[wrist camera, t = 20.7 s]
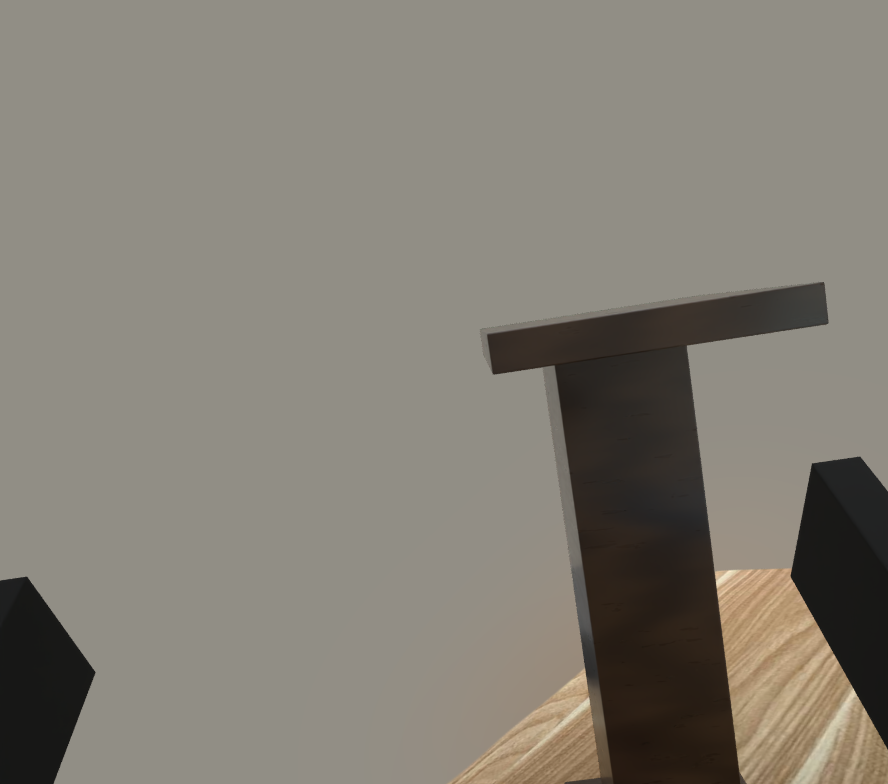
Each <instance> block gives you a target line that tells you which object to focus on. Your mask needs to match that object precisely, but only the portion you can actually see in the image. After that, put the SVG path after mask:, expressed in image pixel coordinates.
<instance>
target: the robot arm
mask: <svg viewBox="0 0 888 784" xmlns="http://www.w3.org/2000/svg"><path fill="white" fill-rule="evenodd" d="M791 578H792V580H793V582H794V583H795V585H796V587H797V589H798V591H799V592H800V594H801V596H802V598H803V599H804V601H805V603H806V605H807V607H808V608H809V610H810V612H811V614H812V615H813V617H814V619H815V621H816V623H817V624H818V626H819V628H820V630H821V631H822V633H823V635H824V637H825V639H826V640H827V642H828V644H829V646H830V648H831V649H832V651H833V653H834V655H835V656H836V658H837V660H838V662H839V664H840V665H841V667H842V669H843V671H844V672H845V674H846V676H847V678H848V680H849V681H850V683H851V685H852V687H853V688H854V690H855V692H856V694H857V696H858V697H859V699H860V701H861V703H862V705H863V706H864V708H865V710H866V712H867V713H868V715H869V717H870V719H871V721H872V722H873V724H874V726H875V728H876V729H877V731H878V733H879V735H880V737H881V738H882V740H883V742H884V744H885V745H886V747H887V749H888V491H887V490H886V489H885V487H884V486H883V485H882V484H881V482H880V481H879V480H878V478H877V477H876V476H875V475H874V473H873V472H872V471H871V470H870V468H869V467H868V466H867V465H866V463H865V462H864V461H863V460H862V459H861V457H854V458H847V459H840V460H833V461H827V462H819V463H812V466H811V472H810V477H809V483H808V487H807V493H806V499H805V503H804V508H803V514H802V520H801V524H800V530H799V535H798V540H797V546H796V551H795V556H794V561H793V567H792V572H791ZM94 675H95V671H94V669H93V668H92V667H91V665H90V664H89V663H88V661H87V660H86V658H85V657H84V656H83V654H82V653H81V651H80V650H79V649H78V647H77V646H76V644H75V643H74V642H73V640H72V639H71V637H69V635H68V633H67V632H66V630H65V629H64V628H63V626H62V625H61V623H60V622H59V621H58V619H57V618H56V616H55V615H54V614H53V612H52V611H51V609H50V608H49V607H48V605H47V604H46V603H45V601H44V600H43V599H42V597H41V595H40V594H39V593H38V591H37V590H36V589H35V587H34V586H33V584H32V583H31V582H30V580H29V579H28V577H21V578H15V579H8V580H1V581H0V784H54V781H55V778H56V776H57V773H58V770H59V768H60V765H61V762H62V760H63V757H64V754H65V752H66V749H67V746H68V744H69V741H70V738H71V736H72V733H73V731H74V728H75V725H76V723H77V720H78V717H79V715H80V712H81V709H82V707H83V704H84V702H85V699H86V696H87V694H88V691H89V688H90V686H91V683H92V680H93V677H94Z"/></svg>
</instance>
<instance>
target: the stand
mask: <svg viewBox="0 0 888 784" xmlns="http://www.w3.org/2000/svg"><path fill="white" fill-rule="evenodd" d="M825 324H828V313H827V304H826V294H825V285H824V282H818V283H809V284H799V285H791V286H781V287H772V288H763V289H754V290H744V291H735V292H726V293H717V294H708V295H698V296H692V297H686V298H679V299H672V300H666V301H660V302H653V303H647V304H640V305H634V306H627V307H621V308H615V309H608V310H601V311H595V312H588V313H582V314H575V315H569V316H562V317H556V318H550V319H543V320H536V321H530V322H523V323H517V324H510V325H504V326H498V327H491V328H484V329H480V333H481V341H482V347H483V354H484V357H485V359H486V361H487V363H488V365H489V367H490V369H491V371H492V373H493V374H501V373H507V372H514V371H521V370H528V369H534V368H541V367H543V373H544V381H545V387H546V395H547V402H548V409H549V416H550V423H551V430H552V438H553V445H554V452H555V458H556V466H557V472H558V479H559V487H560V494H561V501H562V508H563V514H564V522H565V529H566V536H567V542H568V550H569V557H570V564H571V571H572V578H573V585H574V592H575V600H576V606H577V613H578V620H579V627H580V635H581V642H582V649H583V656H584V663H585V670H586V677H587V684H588V691H589V698H590V705H591V712H592V719H593V726H594V733H595V741H596V748H597V755H598V762H599V769H600V776H601V778H595V779H587V780H579V781H571V782H565V784H746V782H745V781H744V779H743V777H742V776H741V774H740V772H739V766H738V758H737V749H736V741H735V733H734V725H733V717H732V709H731V701H730V693H729V685H728V677H727V669H726V660H725V652H724V644H723V636H722V628H721V620H720V612H719V604H718V596H717V588H716V579H715V571H714V564H713V556H712V548H711V539H710V531H709V523H708V515H707V507H706V499H705V490H704V483H703V474H702V467H701V458H700V450H699V442H698V434H697V426H696V418H695V410H694V402H693V393H692V385H691V378H690V369H689V362H688V353H687V345H693V344H699V343H706V342H713V341H720V340H726V339H733V338H739V337H746V336H753V335H759V334H766V333H773V332H779V331H785V330H792V329H799V328H805V327H812V326H819V325H825Z"/></svg>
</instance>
